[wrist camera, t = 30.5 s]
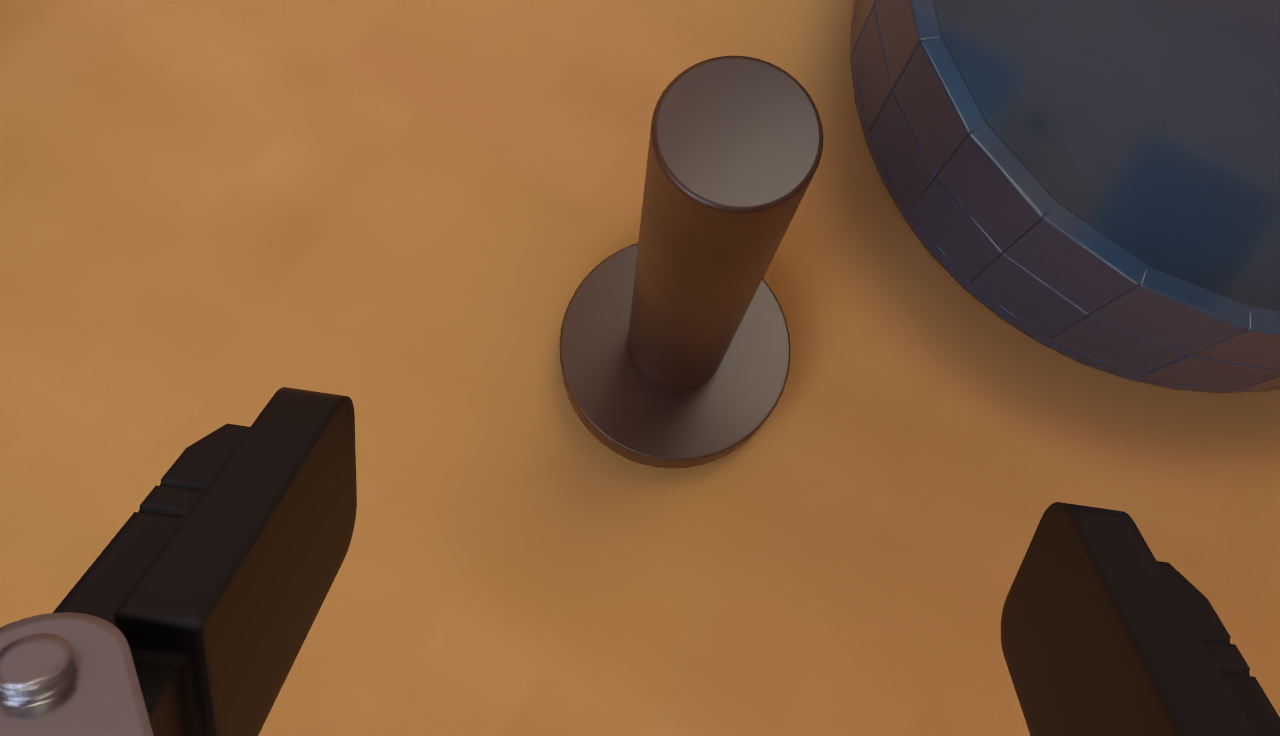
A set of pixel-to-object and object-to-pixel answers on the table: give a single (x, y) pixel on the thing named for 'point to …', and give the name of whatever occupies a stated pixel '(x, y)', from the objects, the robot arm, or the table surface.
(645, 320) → the wall peg
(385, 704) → the table surface
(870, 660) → the table surface
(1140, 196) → the bowl
